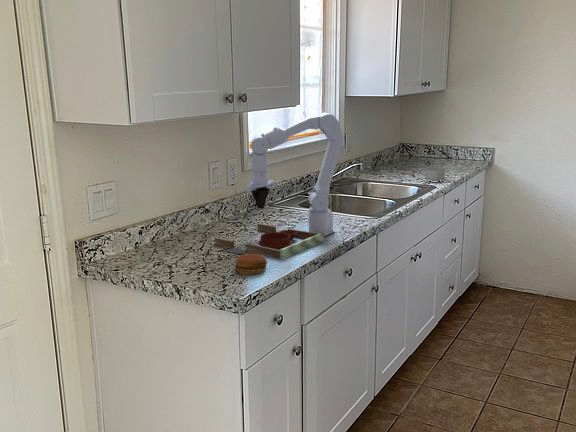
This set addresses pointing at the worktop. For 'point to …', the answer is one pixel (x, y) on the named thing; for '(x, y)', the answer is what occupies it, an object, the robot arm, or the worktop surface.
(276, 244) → the pottery
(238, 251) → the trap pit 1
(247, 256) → the burger
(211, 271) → the worktop surface
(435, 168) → the teacup
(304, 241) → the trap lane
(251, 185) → the robot arm
